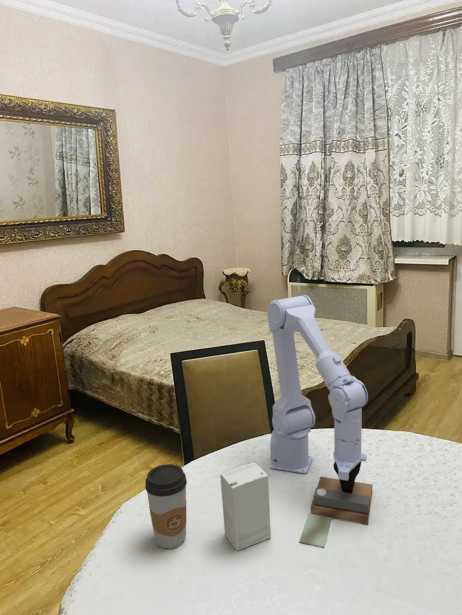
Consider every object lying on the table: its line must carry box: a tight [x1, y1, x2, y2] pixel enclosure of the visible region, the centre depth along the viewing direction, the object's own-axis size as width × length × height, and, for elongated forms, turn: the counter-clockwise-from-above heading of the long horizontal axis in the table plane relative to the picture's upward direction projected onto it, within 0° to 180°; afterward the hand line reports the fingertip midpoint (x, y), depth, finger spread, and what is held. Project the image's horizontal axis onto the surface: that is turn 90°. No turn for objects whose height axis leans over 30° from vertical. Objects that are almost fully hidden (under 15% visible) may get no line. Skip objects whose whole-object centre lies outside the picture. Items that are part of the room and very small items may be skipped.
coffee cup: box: [144, 463, 188, 549], centre depth 100 cm, size 8×8×15 cm
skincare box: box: [219, 461, 272, 551], centre depth 99 cm, size 8×6×15 cm
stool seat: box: [298, 476, 373, 549], centre depth 106 cm, size 12×22×2 cm, turn 160°
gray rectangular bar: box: [312, 487, 369, 513], centre depth 106 cm, size 12×3×2 cm, turn 70°
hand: (347, 491), depth 110 cm, fingers closed
